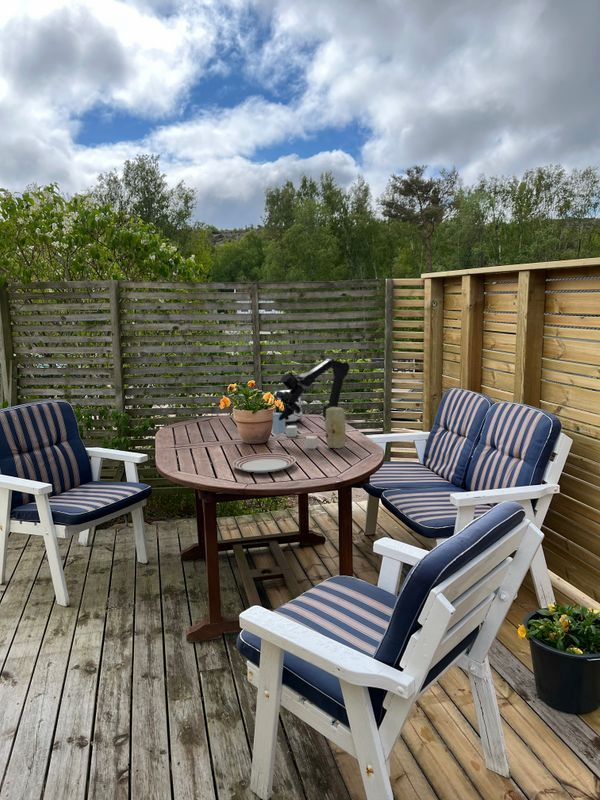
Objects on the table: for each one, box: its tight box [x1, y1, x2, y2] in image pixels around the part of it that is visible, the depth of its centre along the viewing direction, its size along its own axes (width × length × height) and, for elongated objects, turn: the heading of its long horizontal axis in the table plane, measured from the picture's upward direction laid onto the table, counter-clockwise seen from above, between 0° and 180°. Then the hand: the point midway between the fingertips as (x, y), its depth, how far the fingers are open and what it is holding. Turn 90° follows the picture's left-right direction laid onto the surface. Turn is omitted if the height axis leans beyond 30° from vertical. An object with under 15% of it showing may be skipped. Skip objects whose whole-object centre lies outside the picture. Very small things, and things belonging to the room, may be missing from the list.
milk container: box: [273, 389, 303, 424], centre depth 351 cm, size 17×17×18 cm
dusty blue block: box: [272, 412, 286, 435], centre depth 294 cm, size 4×4×10 cm
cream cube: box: [305, 435, 318, 449], centre depth 288 cm, size 5×5×5 cm
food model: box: [324, 406, 346, 449], centre depth 285 cm, size 10×7×20 cm
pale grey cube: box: [285, 425, 298, 438], centre depth 315 cm, size 5×5×5 cm
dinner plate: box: [232, 452, 297, 474], centre depth 255 cm, size 28×27×3 cm
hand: (276, 419), depth 293 cm, fingers closed on dusty blue block, 4 cm apart
